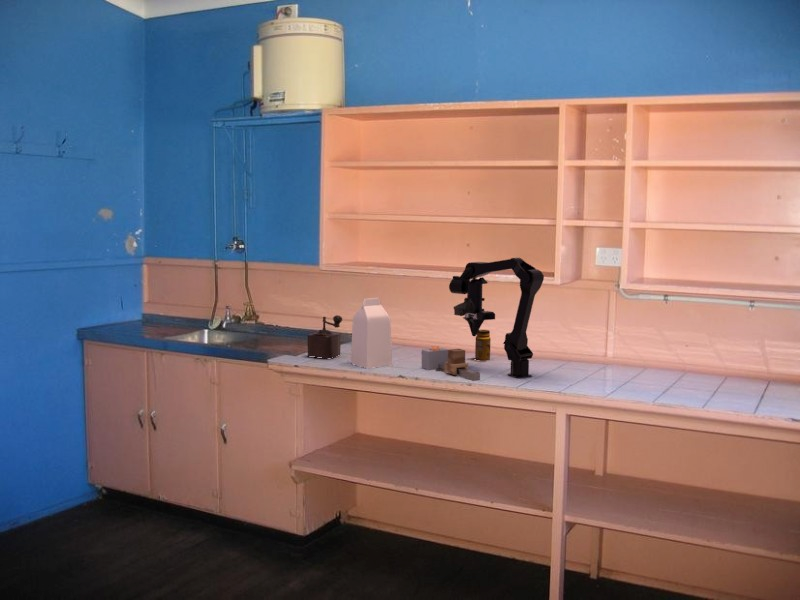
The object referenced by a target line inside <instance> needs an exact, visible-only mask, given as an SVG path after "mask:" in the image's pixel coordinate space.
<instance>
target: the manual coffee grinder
mask: <svg viewBox="0 0 800 600" xmlns="http://www.w3.org/2000/svg"><path fill="white" fill-rule="evenodd" d="M332 320H333V322H334V323H333V322H329V321H327V317H326V316H323V317H322V322H323V323H322V329H319V330H318V331H316V332H314V333H310V334H307V357H308V356H315V357H322V358H332V357H335V356H338V355H340V354H341V339H342V338H341V333H335V332H332V331H331V330H329V329H326V324H327V325H330V326H332V327H334V328H339V327H341V326H340V324H341V323H342V321H343V317H342V315H341V316H340V315H339V314H338V315H337V314H336V315H334V316H333V317H332ZM340 356H341V355H340ZM338 357H339V356H338ZM335 358H336V357H335ZM332 359H333V358H332Z"/></svg>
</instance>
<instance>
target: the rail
mask: <svg viewBox="0 0 800 600" xmlns="http://www.w3.org/2000/svg"><path fill="white" fill-rule="evenodd" d="M435 371H436V372H444V373H446V372H445V363H439V364H438V368H437V369H435ZM455 376H457V377H460V378H464V379H467V380H471V381H479V380H481V372H479V371H475V370H471V369H469V368H468V369H465V368H461V367H460V368H457V375H455Z"/></svg>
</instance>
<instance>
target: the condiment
mask: <svg viewBox="0 0 800 600" xmlns="http://www.w3.org/2000/svg"><path fill="white" fill-rule="evenodd" d="M490 333H491V331H490V330H489V329H479V330H478V333H477V335H476V336H475V348H474V349H475V350H474V351H475V354H474V357H471V358H470V357H468V358H467V360H469V361H473V362H487V361H486V360H490V359H492V360H491V361H494V359H493V358H491V337H490V336H491V335H490ZM474 359H476V360H474ZM477 360H480V361H477Z"/></svg>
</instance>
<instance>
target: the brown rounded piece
mask: <svg viewBox="0 0 800 600" xmlns="http://www.w3.org/2000/svg"><path fill="white" fill-rule="evenodd" d="M439 348H440V346H439V345H432V346H431V347H430V349H431V350H432V351H438V350H439Z"/></svg>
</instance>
